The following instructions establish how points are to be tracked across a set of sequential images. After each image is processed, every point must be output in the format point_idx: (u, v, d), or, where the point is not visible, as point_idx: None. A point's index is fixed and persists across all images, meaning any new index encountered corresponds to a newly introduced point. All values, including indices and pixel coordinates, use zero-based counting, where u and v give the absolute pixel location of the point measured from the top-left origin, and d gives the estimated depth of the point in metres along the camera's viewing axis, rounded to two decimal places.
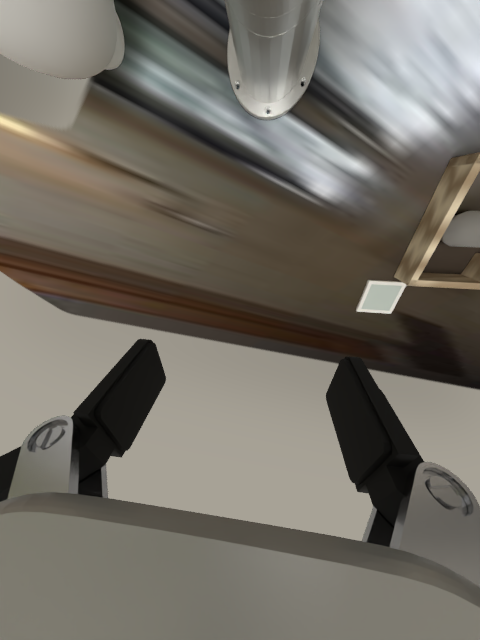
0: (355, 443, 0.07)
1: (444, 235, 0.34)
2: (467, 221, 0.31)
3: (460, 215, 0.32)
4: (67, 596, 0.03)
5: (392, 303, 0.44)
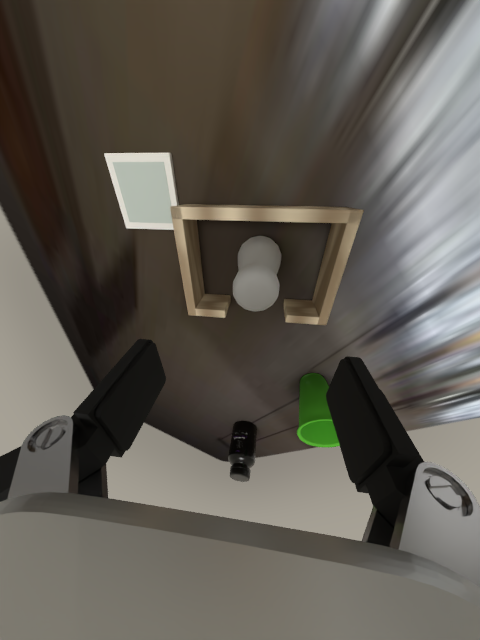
0: (356, 443, 0.07)
1: (251, 238, 0.23)
2: (271, 248, 0.22)
3: (277, 245, 0.24)
4: (67, 596, 0.03)
5: (143, 221, 0.26)
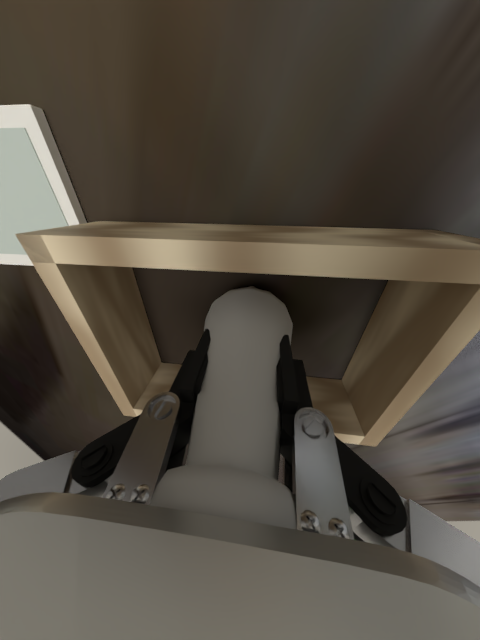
0: None
1: (231, 293, 0.11)
2: (273, 326, 0.09)
3: (284, 308, 0.11)
4: (67, 596, 0.03)
5: (25, 252, 0.13)
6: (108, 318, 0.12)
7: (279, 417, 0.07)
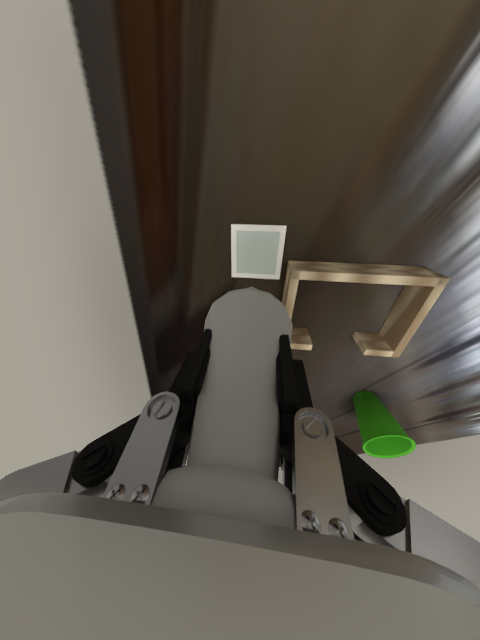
0: None
1: (231, 294, 0.11)
2: (273, 327, 0.09)
3: (284, 309, 0.11)
4: (67, 596, 0.03)
5: (248, 272, 0.31)
6: None
7: (279, 418, 0.07)
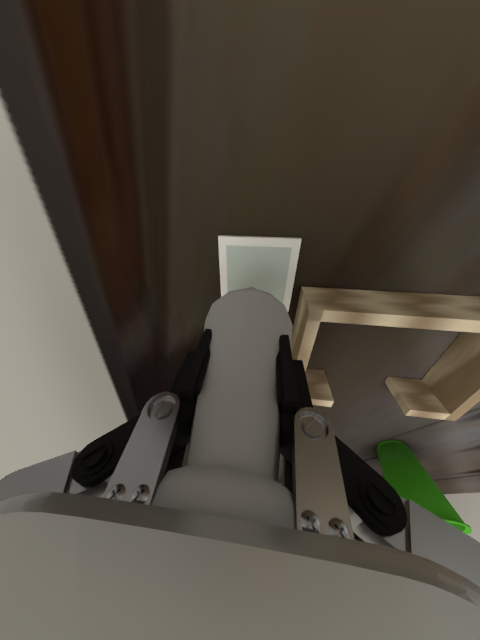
0: None
1: (231, 295, 0.11)
2: (273, 327, 0.09)
3: (284, 309, 0.11)
4: (67, 596, 0.03)
5: None
6: None
7: (279, 418, 0.07)
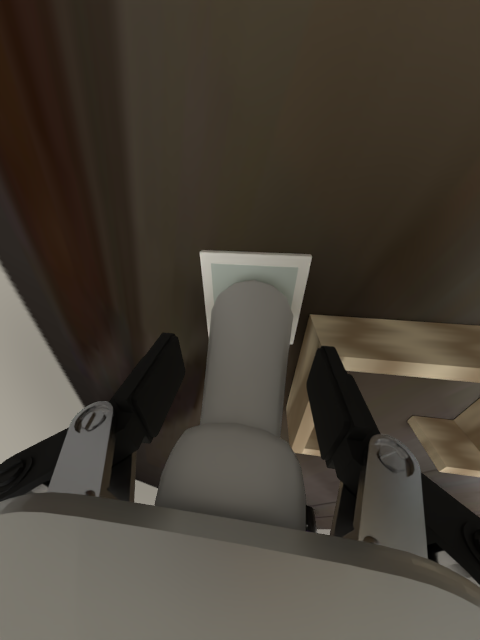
0: (325, 423, 0.07)
1: (236, 286, 0.12)
2: (275, 315, 0.10)
3: (285, 299, 0.12)
4: (67, 596, 0.03)
5: None
6: None
7: (280, 392, 0.08)
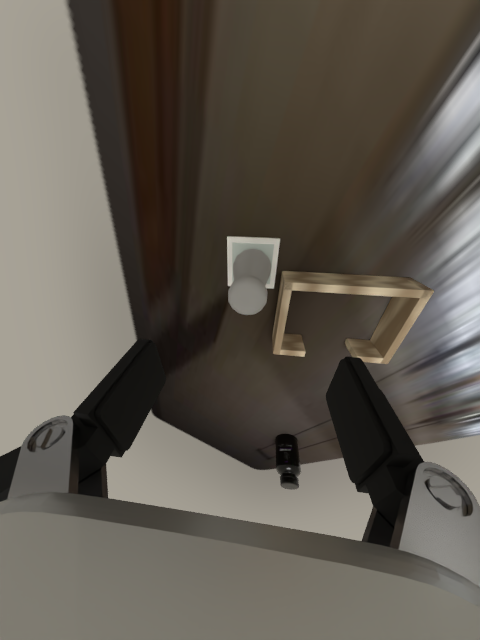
0: (355, 443, 0.07)
1: (245, 250, 0.27)
2: (262, 260, 0.25)
3: (267, 257, 0.27)
4: (67, 596, 0.03)
5: None
6: None
7: (262, 280, 0.23)
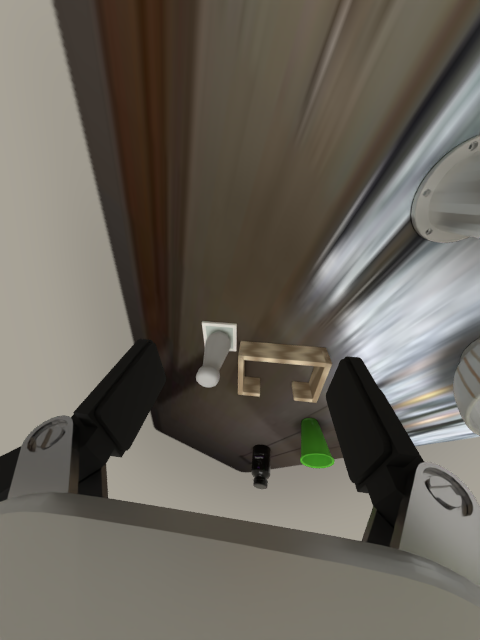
0: (355, 443, 0.07)
1: (212, 335, 0.41)
2: (221, 344, 0.40)
3: (227, 339, 0.42)
4: (67, 596, 0.03)
5: None
6: None
7: (219, 362, 0.37)
